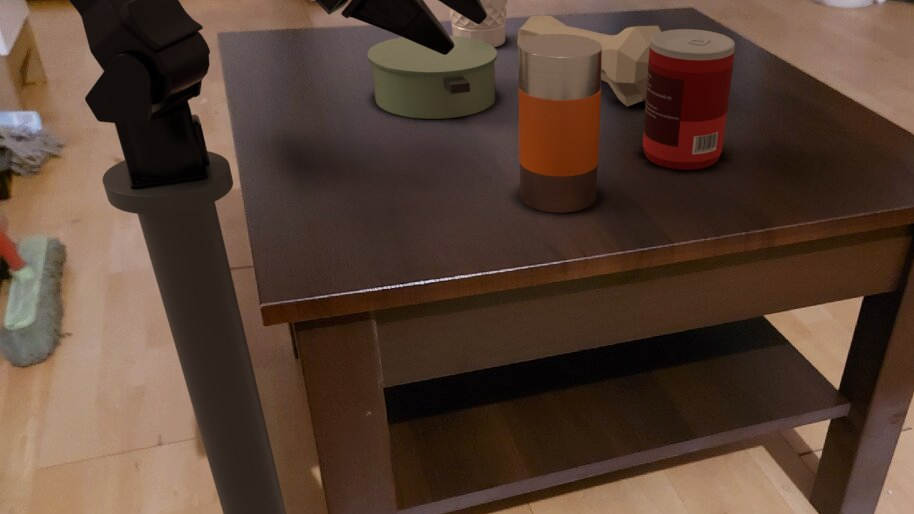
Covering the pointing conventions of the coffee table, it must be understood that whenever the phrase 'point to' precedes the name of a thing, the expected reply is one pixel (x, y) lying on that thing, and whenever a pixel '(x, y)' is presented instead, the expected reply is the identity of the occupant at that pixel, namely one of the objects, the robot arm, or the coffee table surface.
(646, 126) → the canned food
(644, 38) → the faceted club
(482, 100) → the pot
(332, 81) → the coffee table surface
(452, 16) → the white cup
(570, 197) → the tin can
